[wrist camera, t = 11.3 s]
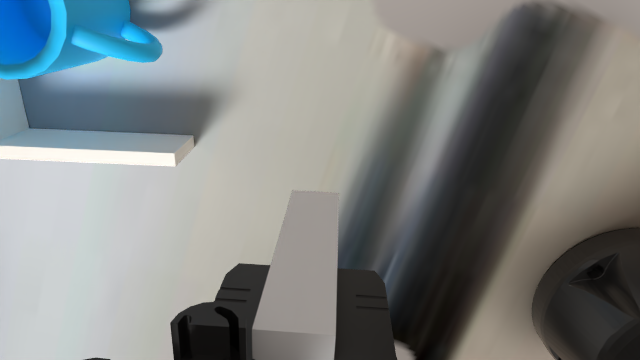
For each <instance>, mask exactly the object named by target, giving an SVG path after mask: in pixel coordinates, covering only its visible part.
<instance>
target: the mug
mask: <svg viewBox="0 0 640 360" xmlns="http://www.w3.org/2000/svg"><path fill="white" fill-rule="evenodd" d="M130 14H131V9H130V4H129V0H0V78H2V79H6V80H11V79H26V78H31V77H35V76H39V75H43V74H47V73H51V72H55V71H59V70H63V69H67V68H71V67H75V66H79V65H83V64H87V63H91V62H96V61H99V60H101V59H103V58H105V57H108V56H110V57H114V58H118V59H123V60H127V61H134V62H142V63H144V62H154V61H156V60H157V59H158V58H159V57H160V56H161V54H162V45H161V43H160V42H159V41H158V39H157V38H156V37H155V36H153V35H152V34H150V33H149V32H148V31H146V30H144V29H142V28H140V27H139V26H137V25H135V24H133V23H131V22H130ZM125 38H126V39H128V40H130V41H127V40H125Z"/></svg>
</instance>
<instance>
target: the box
mask: <svg viewBox="0 0 640 360" xmlns="http://www.w3.org/2000/svg"><path fill="white" fill-rule="evenodd" d="M193 148H194V135H174V134H151V133H128V132H105V131H81V130H58V129H35V128H29V125H28V121H27V117H26V113H25V108H24V104H23V100H22V95H21V91H20V87H19V82H18V79H11V80H6V79H2V78H0V159H18V160H41V161H63V162H86V163H109V164H131V165H154V166H177V165H178V163H179V162H180V161H181V160H182V159H183V158H184V157H185V156H186V155H187V154H188V153H189V152H190V151H191V150H192V149H193Z"/></svg>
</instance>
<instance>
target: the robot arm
mask: <svg viewBox="0 0 640 360" xmlns="http://www.w3.org/2000/svg"><path fill="white" fill-rule="evenodd" d="M338 213H339V193H332V192H315V191H298V190H292V193H291V197H290V200H289V204H288V207H287V210H286V214H285V217H284V221H283V224H282V228H281V231H280V235H279V238H278V241H277V245H276V248H275V252H274V255H273V259H272V262H271V265H255V264H240V263H239V264H238V265H237V266H235V267H234V268H233V269H232V270H231V271H229V272H228V273H227V274H226V276H225V278H224V280H223V282H222V284H221V287H220V290H219V291H218V293H217V295H216V298H215V301H214V302H206V303H201V304H198V305H194V306H191V307H189V308H187V309H185V310H184V311H182V312H180V313H179V314H178V315H177V316H176V317H175V318H174V319H173V320H172V322H171V323H170V324H171V334H172V344H173V354H174V360H397V357H396V353H395V346H394V340H393V333H392V327H391V321H390V314H389V311H388V309H389V308H388V301H387V295H386V289H385V283H384V282H383V280H382V279H381V278H380V277H379V276H378V274H377V273H376V272H375V271H369V270H353V269H338V268H337V257H338ZM532 318H533V323H534V326H535V329H536V331H537V333H538V335H539V337H540V338H541V340H542V342H543V343H544V345H545V346H546V348H547V350H548V351H549V353H550V354H551V355H552V356H553V358H554V359H555V360H640V228H631V229H622V230H616V231H612V232H608V233H604V234H601V235H598V236H596V237H593V238H591V239H589V240H587V241H584V242H582V243H581V244H579V245H577V246H575V247H574V248H572V249H571V250H569V251H568V252H567V253H565V254H564V255H563V256H562V257H560V258H559V259H558V260H557V261H556V262H555V263H554V264H553V265H552V266H551V267H550V268H549V270H548V271H547V272H546V274H545V275H544V276H543V278H542V280H541V281H540V283H539V285H538V287H537V289H536V292H535V295H534V299H533V304H532ZM85 360H110V359H103V358H91V359H85Z"/></svg>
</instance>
